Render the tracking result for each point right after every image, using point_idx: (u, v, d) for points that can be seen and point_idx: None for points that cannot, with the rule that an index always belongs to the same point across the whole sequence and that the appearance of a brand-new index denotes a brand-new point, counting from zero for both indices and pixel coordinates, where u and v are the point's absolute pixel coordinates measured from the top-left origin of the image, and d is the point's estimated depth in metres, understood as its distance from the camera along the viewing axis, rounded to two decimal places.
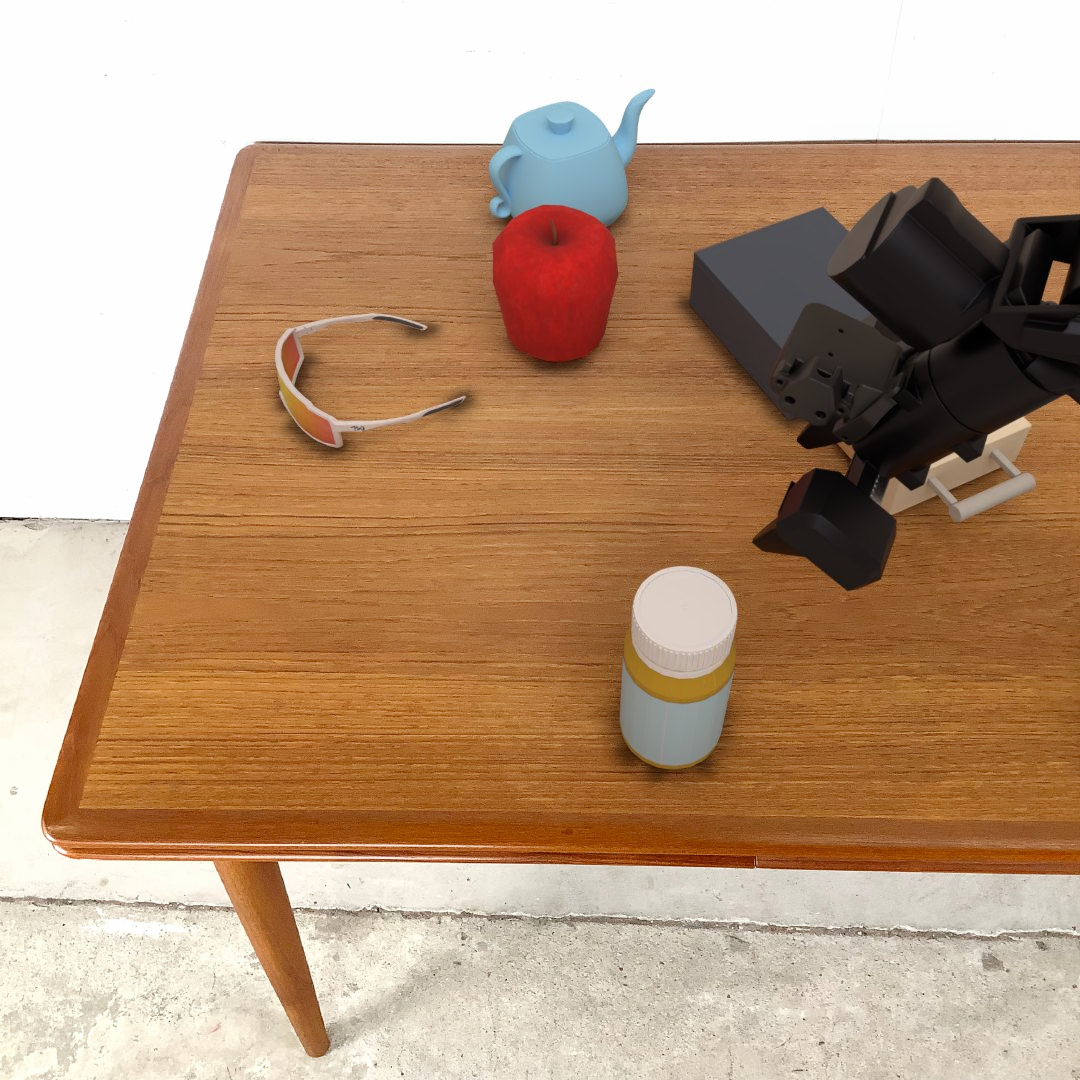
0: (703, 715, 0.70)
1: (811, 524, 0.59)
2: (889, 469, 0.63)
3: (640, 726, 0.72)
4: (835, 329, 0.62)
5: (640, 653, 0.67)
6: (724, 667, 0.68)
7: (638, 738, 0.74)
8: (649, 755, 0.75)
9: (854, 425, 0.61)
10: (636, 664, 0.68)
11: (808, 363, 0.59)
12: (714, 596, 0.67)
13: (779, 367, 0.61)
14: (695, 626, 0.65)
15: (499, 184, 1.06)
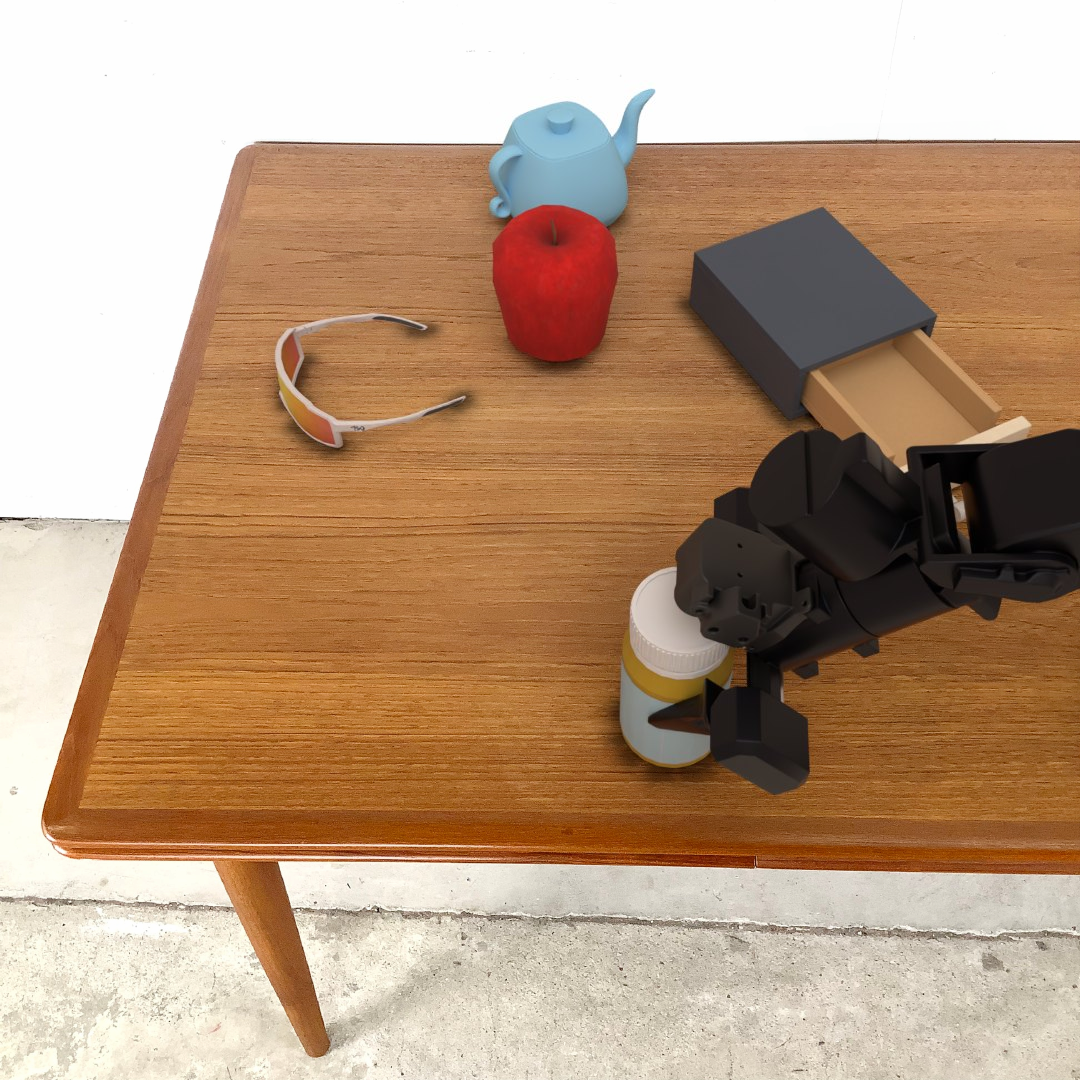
0: None
1: (751, 751, 0.60)
2: (790, 667, 0.65)
3: (639, 725, 0.72)
4: (735, 544, 0.62)
5: (638, 654, 0.67)
6: (722, 667, 0.68)
7: (638, 737, 0.74)
8: (649, 753, 0.75)
9: (764, 638, 0.62)
10: (634, 664, 0.68)
11: (729, 593, 0.59)
12: None
13: (696, 595, 0.60)
14: (693, 627, 0.65)
15: (499, 184, 1.06)
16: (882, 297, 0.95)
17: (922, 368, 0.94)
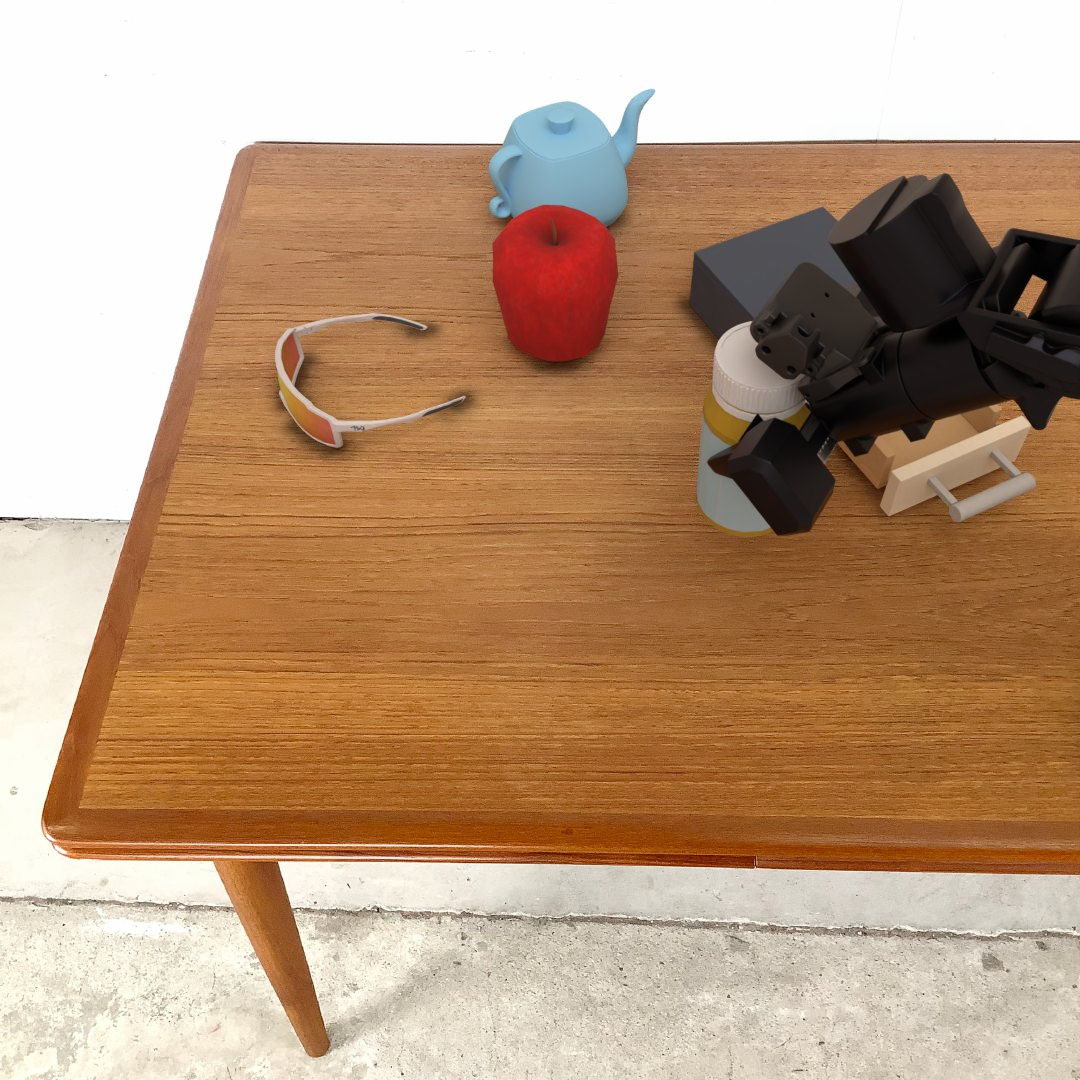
0: None
1: (759, 468, 0.64)
2: (840, 432, 0.67)
3: (704, 473, 0.77)
4: (822, 292, 0.65)
5: (713, 387, 0.72)
6: None
7: (702, 489, 0.79)
8: (708, 510, 0.79)
9: (818, 385, 0.65)
10: (709, 400, 0.73)
11: (791, 319, 0.63)
12: None
13: (763, 317, 0.64)
14: (765, 370, 0.69)
15: (499, 184, 1.06)
16: None
17: None
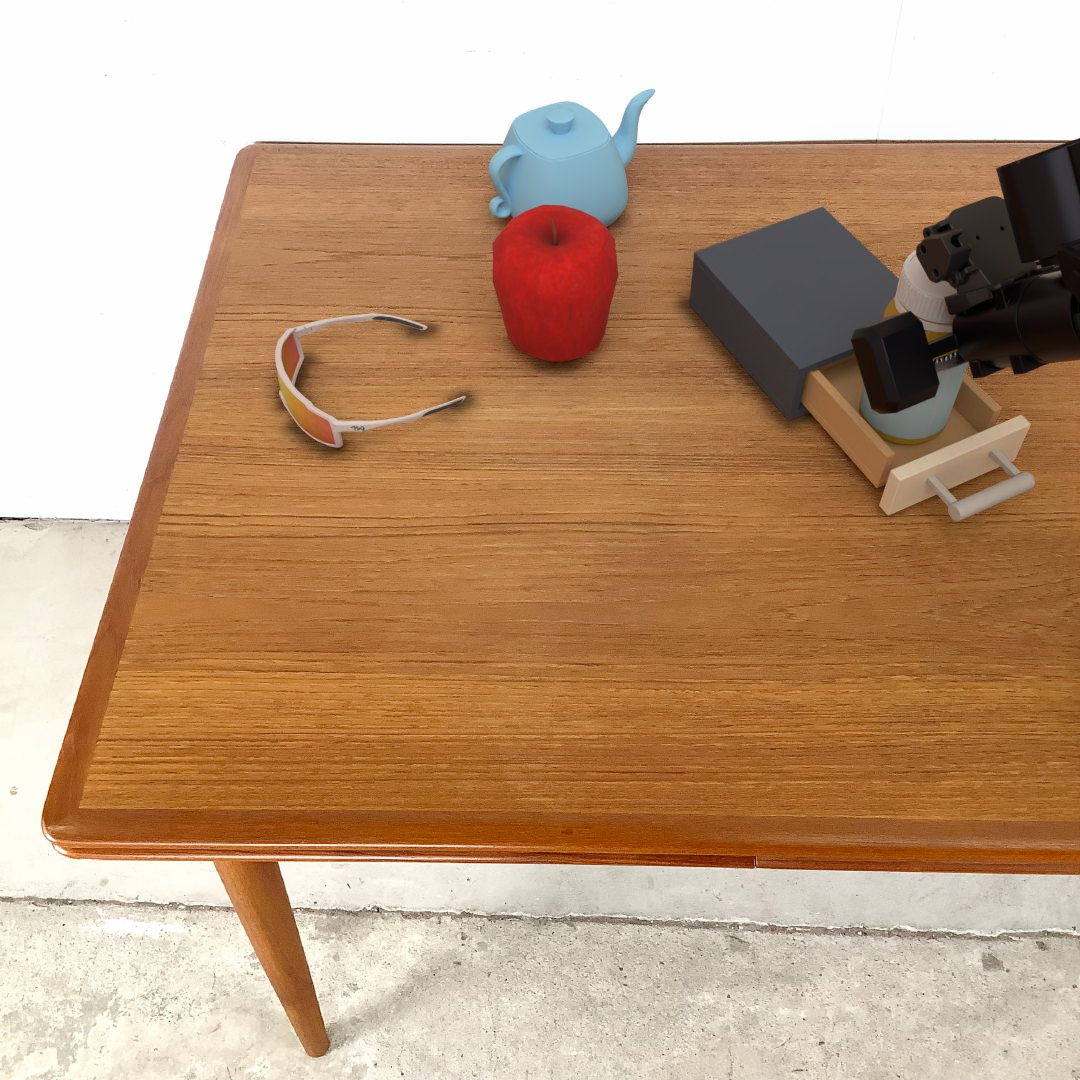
0: None
1: (871, 340, 0.75)
2: (965, 350, 0.77)
3: None
4: (999, 225, 0.75)
5: None
6: None
7: None
8: (863, 403, 0.90)
9: (958, 299, 0.75)
10: (892, 299, 0.84)
11: (952, 230, 0.73)
12: None
13: (935, 224, 0.75)
14: (939, 283, 0.80)
15: (499, 184, 1.06)
16: (882, 297, 0.95)
17: None
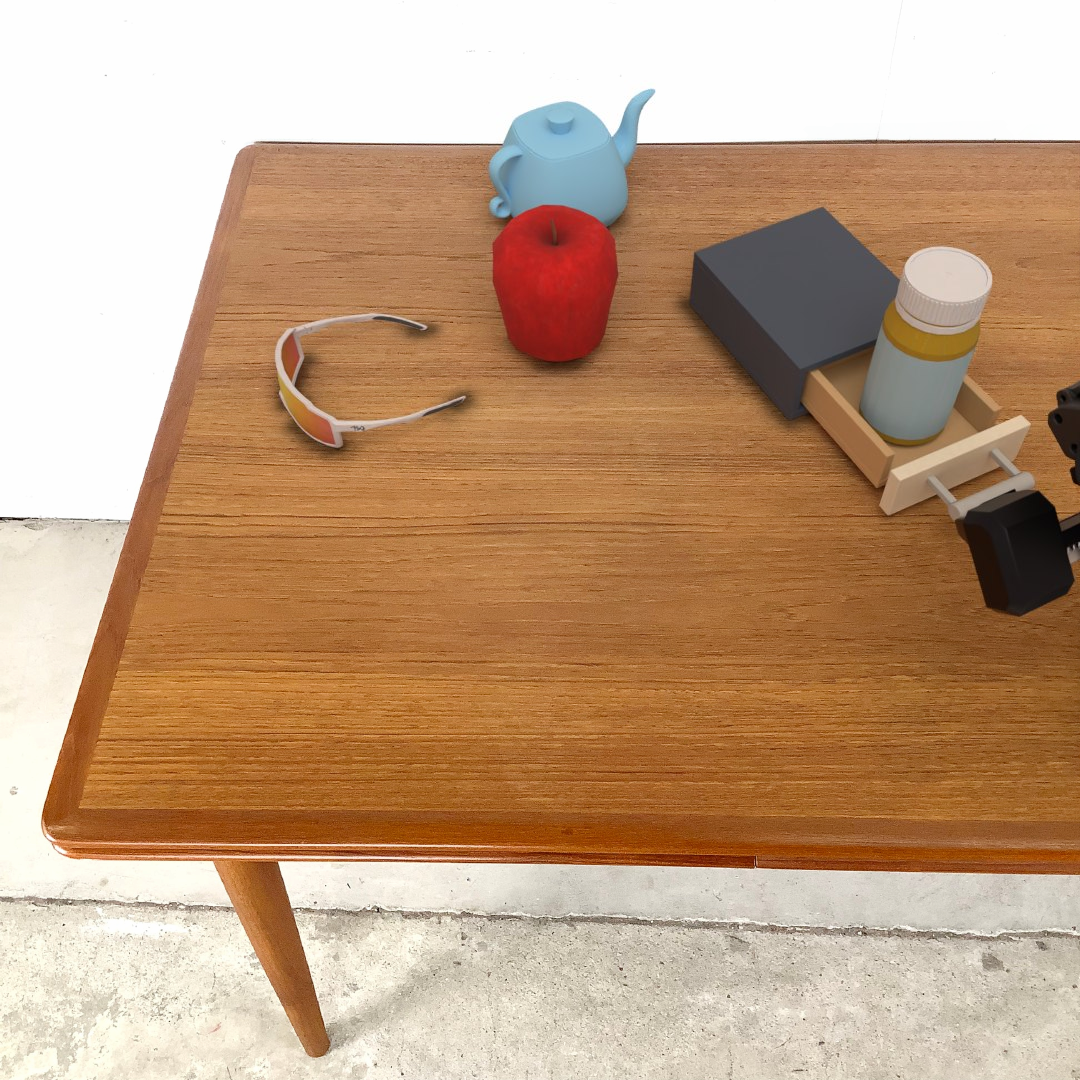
0: (904, 375, 0.84)
1: (992, 530, 0.60)
2: None
3: (869, 368, 0.88)
4: None
5: None
6: (939, 342, 0.81)
7: (865, 384, 0.90)
8: (863, 404, 0.90)
9: None
10: (893, 301, 0.84)
11: None
12: (975, 285, 0.79)
13: (1073, 386, 0.60)
14: (940, 285, 0.79)
15: (499, 184, 1.06)
16: (882, 297, 0.95)
17: None
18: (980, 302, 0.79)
